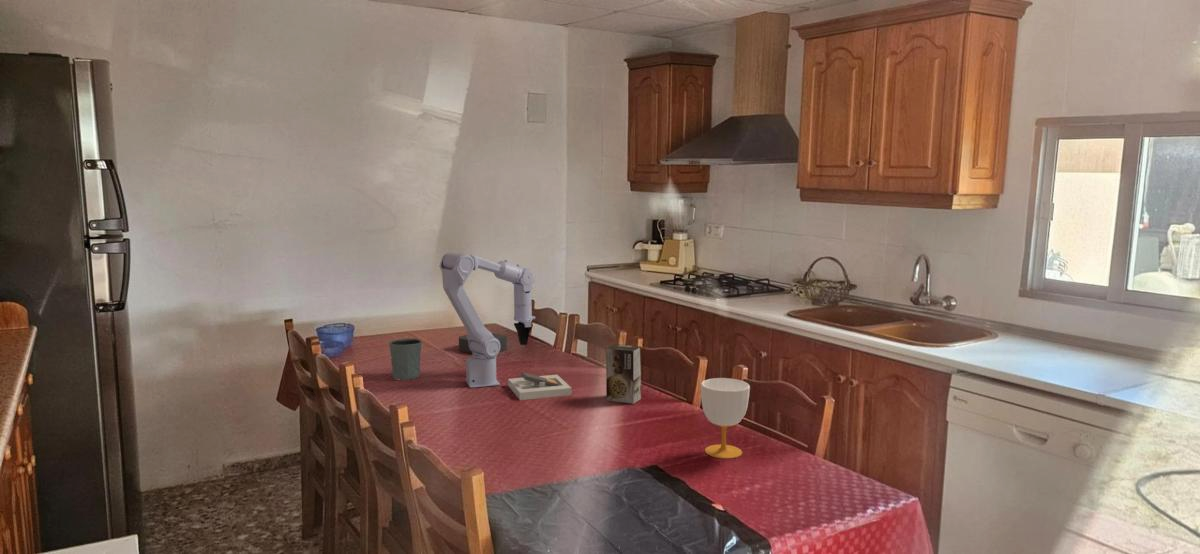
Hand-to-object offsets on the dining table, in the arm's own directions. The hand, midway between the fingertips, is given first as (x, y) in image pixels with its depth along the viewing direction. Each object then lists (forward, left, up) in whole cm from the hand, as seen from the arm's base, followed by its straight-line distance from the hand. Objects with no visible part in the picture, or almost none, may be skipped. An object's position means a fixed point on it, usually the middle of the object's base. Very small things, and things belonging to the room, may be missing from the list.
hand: (523, 344), depth 259 cm
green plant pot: (-37, +10, -11) cm, 40 cm away
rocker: (0, -19, -8) cm, 21 cm away
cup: (+30, -84, -11) cm, 90 cm away
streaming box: (-6, +40, -11) cm, 42 cm away
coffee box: (+22, -36, -11) cm, 44 cm away
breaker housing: (0, -19, -10) cm, 22 cm away
